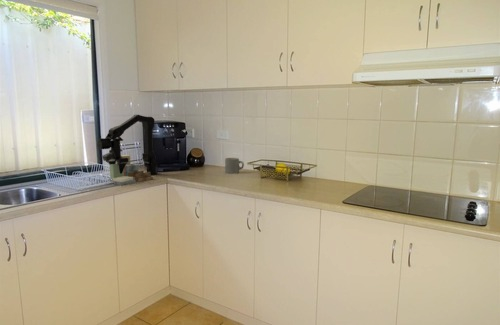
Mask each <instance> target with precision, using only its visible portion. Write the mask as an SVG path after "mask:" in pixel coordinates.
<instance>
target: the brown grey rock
mask: <svg viewBox="0 0 500 325" xmlns="http://www.w3.org/2000/svg"><path fill="white" fill-rule="evenodd" d="M124 176H129V177H133V179H134V180H135V182H139V183H140V182H144V181H149V180H154V177H153V176H152V175H151V172H147V171H146V172H145V171H144V170H139V164H138V163H135V164H130V165H126V166H125V168H124Z"/></svg>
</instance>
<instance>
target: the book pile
mask: <svg viewBox="0 0 500 325" xmlns="http://www.w3.org/2000/svg"><path fill="white" fill-rule="evenodd" d="M112 183H115V184H114V185H118V186H125V185H130V184H131V185H132V184H135V183H136V181H135V180H134V179H133V177H129V176H122V177H117V178H113V181H112Z"/></svg>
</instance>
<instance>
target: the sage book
mask: <svg viewBox="0 0 500 325" xmlns="http://www.w3.org/2000/svg"><path fill="white" fill-rule="evenodd" d="M109 176H110V177H109V179H112V180H113V178H117V177H122V176H124V170H123V172H122V173H121V174H120V171H119V165H118V164H111V165H109ZM112 180H111V181H112Z"/></svg>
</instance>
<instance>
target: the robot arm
mask: <svg viewBox="0 0 500 325" xmlns="http://www.w3.org/2000/svg"><path fill="white" fill-rule="evenodd" d="M136 123H141V125H142V127H143V130H144V145H145V152H144V153H142V154H141V156H142V158H141V159H142V160H143V162H144V164H145V166H146V172H151V176H155V175H159V174H160V173H159V172H158V167H159V165H160V162H159V161H158V160H157V159H156V154H155V152H154V150H153V149H154V147H153V143H154V142H153V129H154V126H155V118H154V117H152V116H145V115H140V114H134V115H133V116H131V117H130V118H128V119H127V120H126V121H124V122H123V123H121V124H119V125H117V126H114V127H112V128H110V129H108V133H107V135H106V136H105V138H101V137H99V138H98V140H97V143H96V144H97V149H98V150H101V151H102V150H109V152H107V153H104V154H103V155H101V157H102V161H104V162H105V163H108V164H109V165H108V166H110V165H111V164H116V161H117V164H118V165H119V171H120V174H121V173H122V172H123V170H124V168H125V166H126V164H127V162H129V160H128V158H125V157H123V158H122V156H121V155H122V153H121V152H123V149H121V142H123V141H124V139H123V138H122V137H121V136H122V135H123V134H124V132H126V130H128V129H129V128H130V127H132V126H133V125H134V126H135V124H136Z"/></svg>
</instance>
